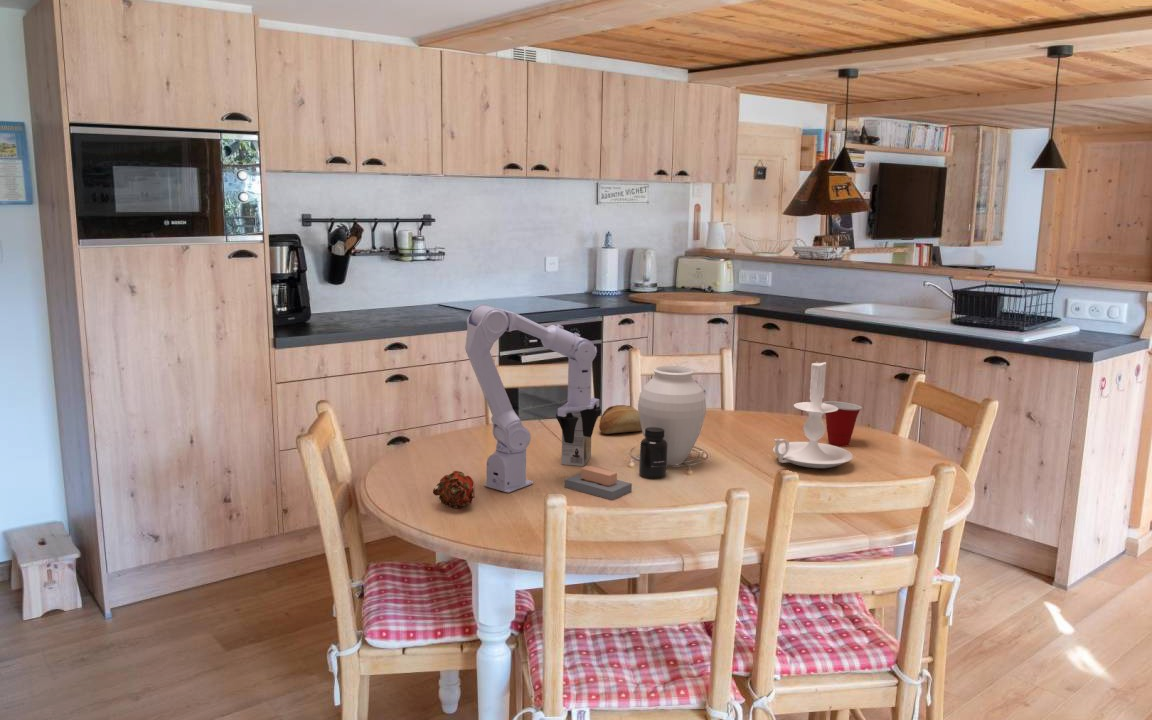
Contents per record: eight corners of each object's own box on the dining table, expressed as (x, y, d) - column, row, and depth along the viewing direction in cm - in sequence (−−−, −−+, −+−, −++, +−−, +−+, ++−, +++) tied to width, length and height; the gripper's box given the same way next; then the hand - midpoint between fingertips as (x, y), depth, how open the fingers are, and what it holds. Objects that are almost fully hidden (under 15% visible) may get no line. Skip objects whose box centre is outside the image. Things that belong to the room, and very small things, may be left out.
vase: (622, 460, 236) (625, 368, 231) (663, 448, 248) (666, 360, 244) (676, 476, 224) (680, 379, 219) (716, 461, 237) (721, 370, 232)
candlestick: (744, 461, 238) (750, 358, 233) (809, 448, 251) (816, 351, 246) (802, 482, 221) (810, 372, 216) (868, 468, 234) (877, 364, 229)
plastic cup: (866, 445, 256) (870, 405, 253) (842, 451, 250) (845, 409, 247) (836, 436, 264) (839, 397, 262) (812, 441, 258) (815, 401, 256)
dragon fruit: (461, 522, 194) (445, 512, 204) (489, 495, 196) (473, 487, 207) (437, 494, 191) (422, 485, 202) (466, 467, 194) (451, 460, 205)
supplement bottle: (658, 481, 219) (660, 434, 217) (634, 476, 223) (635, 430, 221) (670, 474, 225) (672, 428, 223) (646, 469, 229) (648, 424, 227)
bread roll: (590, 431, 265) (591, 405, 263) (631, 425, 272) (632, 400, 271) (609, 439, 257) (609, 412, 255) (650, 433, 264) (651, 406, 263)
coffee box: (568, 455, 240) (569, 397, 237) (591, 456, 239) (592, 398, 236) (560, 464, 231) (561, 404, 228) (584, 466, 230) (586, 406, 227)
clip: (609, 494, 209) (609, 475, 208) (580, 487, 214) (581, 468, 213) (616, 491, 211) (616, 472, 210) (588, 484, 216) (588, 465, 215)
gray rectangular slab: (612, 500, 205) (612, 491, 205) (564, 487, 213) (564, 479, 213) (631, 491, 211) (631, 483, 211) (584, 479, 220) (584, 471, 219)
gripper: (574, 393, 210) (573, 448, 212) (609, 383, 221) (608, 436, 224) (551, 388, 214) (550, 443, 217) (587, 379, 226) (585, 431, 228)
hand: (578, 439), depth 221 cm, fingers open, 7 cm apart
